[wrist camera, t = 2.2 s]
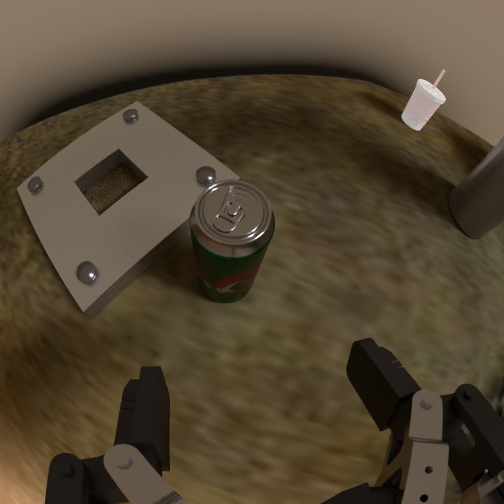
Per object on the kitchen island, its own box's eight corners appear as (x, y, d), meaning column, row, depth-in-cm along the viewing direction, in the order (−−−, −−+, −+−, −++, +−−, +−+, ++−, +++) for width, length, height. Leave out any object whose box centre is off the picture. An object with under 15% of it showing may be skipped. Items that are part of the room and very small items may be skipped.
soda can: (261, 269, 27) (292, 198, 16) (236, 314, 25) (252, 268, 14) (215, 244, 28) (218, 162, 17) (188, 287, 25) (169, 223, 15)
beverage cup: (429, 134, 42) (464, 85, 30) (408, 131, 41) (444, 76, 28) (413, 113, 45) (444, 64, 32) (392, 109, 43) (423, 55, 31)
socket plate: (139, 114, 34) (136, 98, 31) (238, 191, 30) (240, 174, 28) (25, 199, 27) (14, 185, 24) (94, 317, 23) (80, 310, 20)
